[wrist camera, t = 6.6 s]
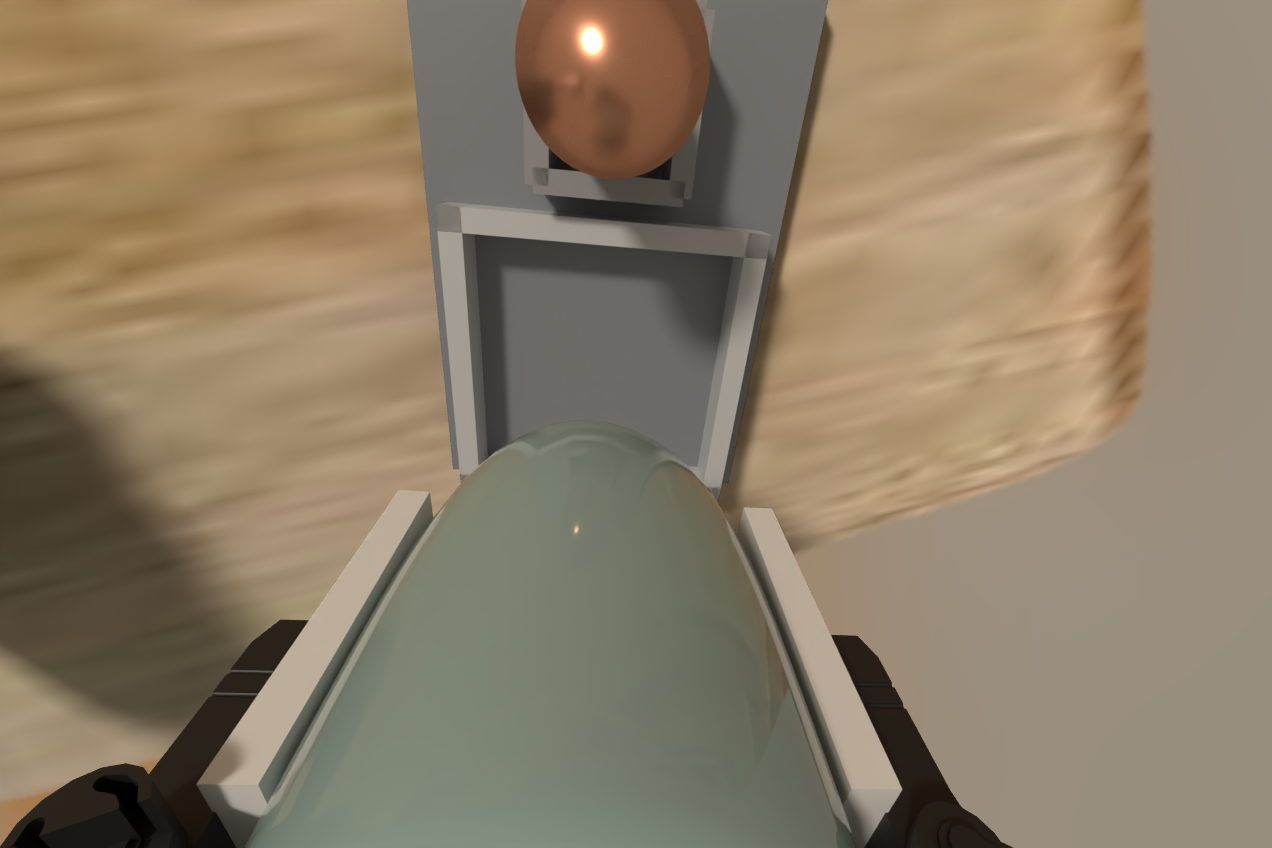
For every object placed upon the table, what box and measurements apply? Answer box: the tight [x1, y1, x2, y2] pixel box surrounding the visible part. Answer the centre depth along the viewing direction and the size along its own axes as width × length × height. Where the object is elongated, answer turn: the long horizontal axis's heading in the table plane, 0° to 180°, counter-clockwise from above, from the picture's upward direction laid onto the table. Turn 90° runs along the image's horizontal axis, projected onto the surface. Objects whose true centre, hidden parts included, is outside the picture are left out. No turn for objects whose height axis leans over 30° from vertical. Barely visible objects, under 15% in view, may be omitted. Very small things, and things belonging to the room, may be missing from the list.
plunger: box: [515, 0, 710, 179], centre depth 15 cm, size 5×5×6 cm
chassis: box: [407, 0, 828, 502], centre depth 22 cm, size 16×23×5 cm
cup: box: [245, 419, 857, 848], centre depth 10 cm, size 8×8×10 cm
